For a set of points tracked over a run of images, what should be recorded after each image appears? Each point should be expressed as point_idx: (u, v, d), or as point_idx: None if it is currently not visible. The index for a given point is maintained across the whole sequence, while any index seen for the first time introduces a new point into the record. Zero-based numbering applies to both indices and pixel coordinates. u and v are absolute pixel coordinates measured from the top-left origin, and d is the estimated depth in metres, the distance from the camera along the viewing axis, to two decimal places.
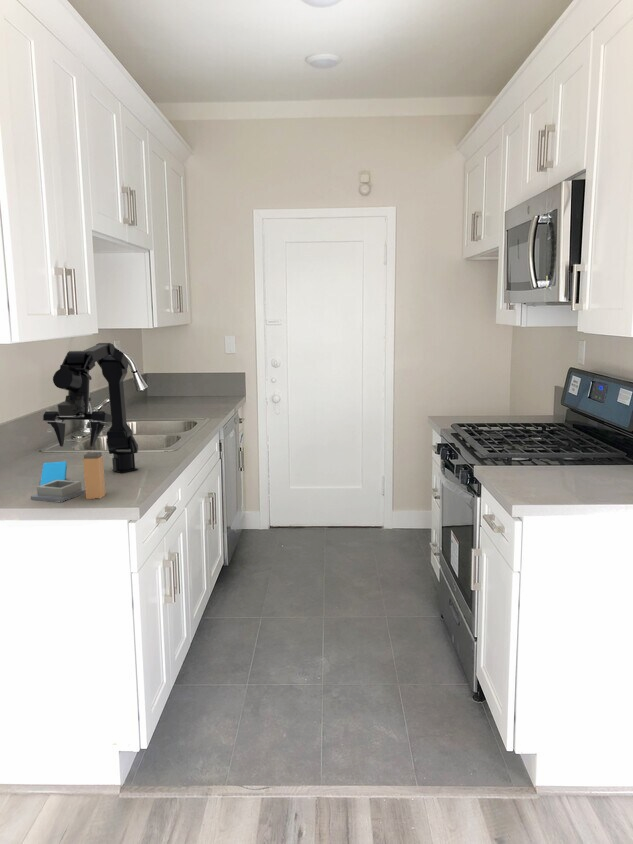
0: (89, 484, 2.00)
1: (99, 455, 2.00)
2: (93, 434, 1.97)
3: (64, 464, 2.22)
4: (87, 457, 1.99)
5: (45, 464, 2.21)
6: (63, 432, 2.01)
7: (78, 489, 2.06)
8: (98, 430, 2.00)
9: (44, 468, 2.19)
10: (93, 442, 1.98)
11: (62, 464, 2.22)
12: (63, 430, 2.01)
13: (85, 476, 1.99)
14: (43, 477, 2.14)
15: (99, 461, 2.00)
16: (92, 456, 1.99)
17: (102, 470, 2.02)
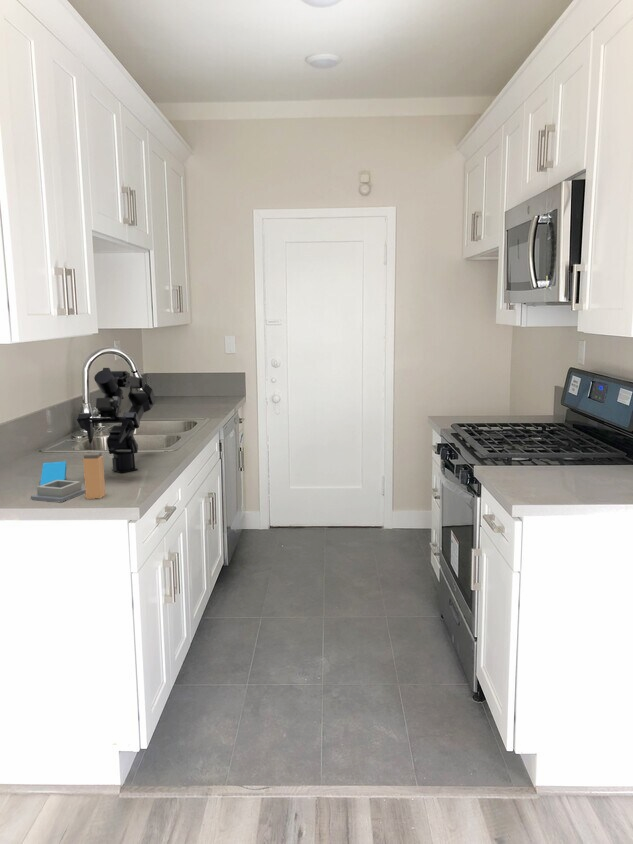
0: (89, 484, 2.00)
1: (99, 455, 2.00)
2: (122, 431, 2.16)
3: (64, 464, 2.22)
4: (87, 457, 1.99)
5: (45, 464, 2.21)
6: (92, 434, 2.18)
7: (78, 489, 2.06)
8: (126, 431, 2.18)
9: (44, 468, 2.19)
10: (121, 438, 2.15)
11: (62, 464, 2.22)
12: (92, 432, 2.18)
13: (85, 476, 1.99)
14: (43, 477, 2.14)
15: (99, 461, 2.00)
16: (92, 456, 1.99)
17: (102, 470, 2.02)
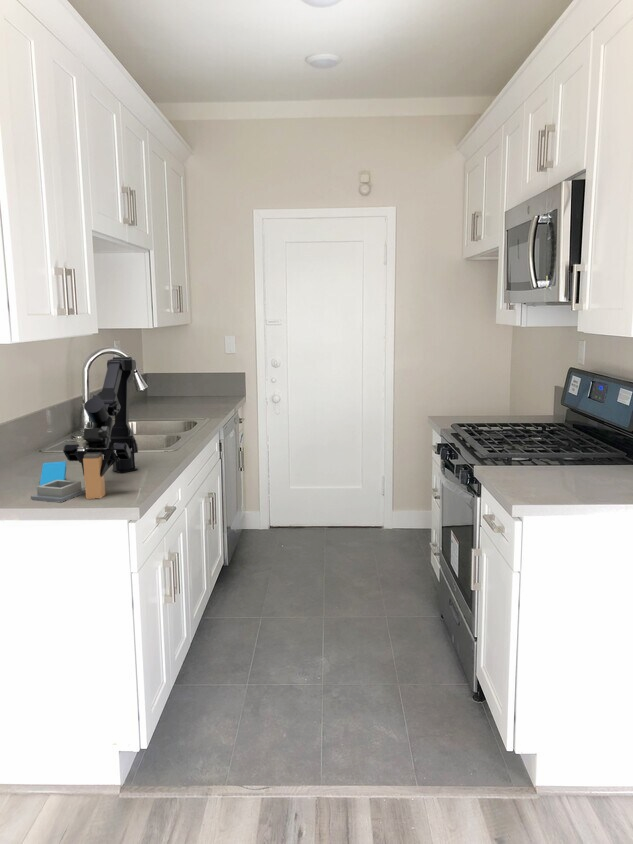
0: (89, 484, 2.00)
1: (99, 455, 2.00)
2: (104, 463, 2.01)
3: (64, 464, 2.22)
4: (87, 457, 1.99)
5: (45, 464, 2.21)
6: None
7: (78, 489, 2.06)
8: (109, 463, 2.04)
9: (44, 468, 2.19)
10: (103, 472, 2.01)
11: (62, 464, 2.22)
12: None
13: (85, 476, 1.99)
14: (43, 477, 2.14)
15: (99, 461, 2.00)
16: (92, 456, 1.99)
17: None
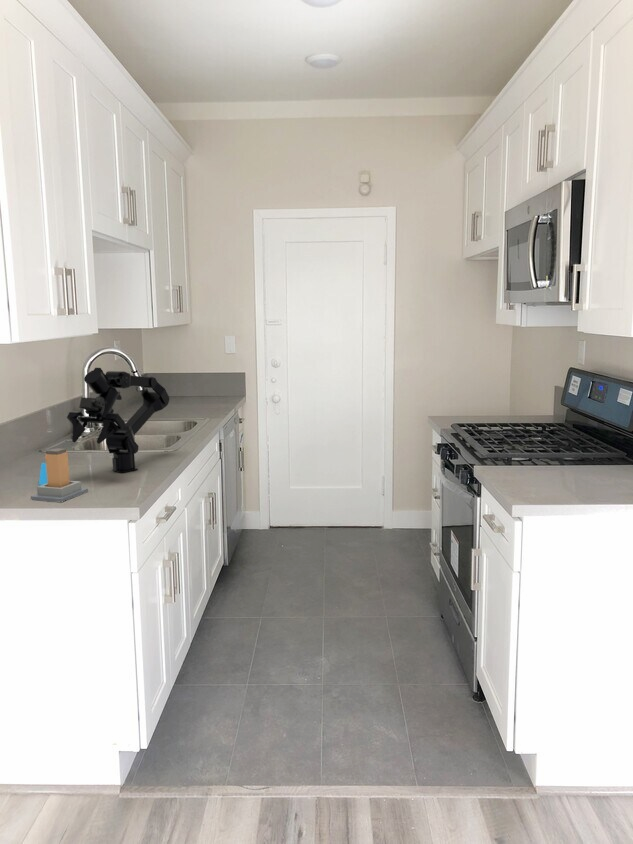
0: (50, 479, 2.02)
1: (61, 451, 2.01)
2: (102, 431, 2.14)
3: None
4: (49, 453, 2.01)
5: (43, 465, 2.21)
6: (80, 432, 2.20)
7: (78, 489, 2.06)
8: (109, 432, 2.16)
9: (42, 468, 2.19)
10: (100, 439, 2.14)
11: None
12: (81, 431, 2.20)
13: (47, 471, 2.02)
14: (42, 477, 2.14)
15: (60, 457, 2.01)
16: (53, 452, 2.00)
17: (64, 467, 2.03)
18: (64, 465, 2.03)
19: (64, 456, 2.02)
